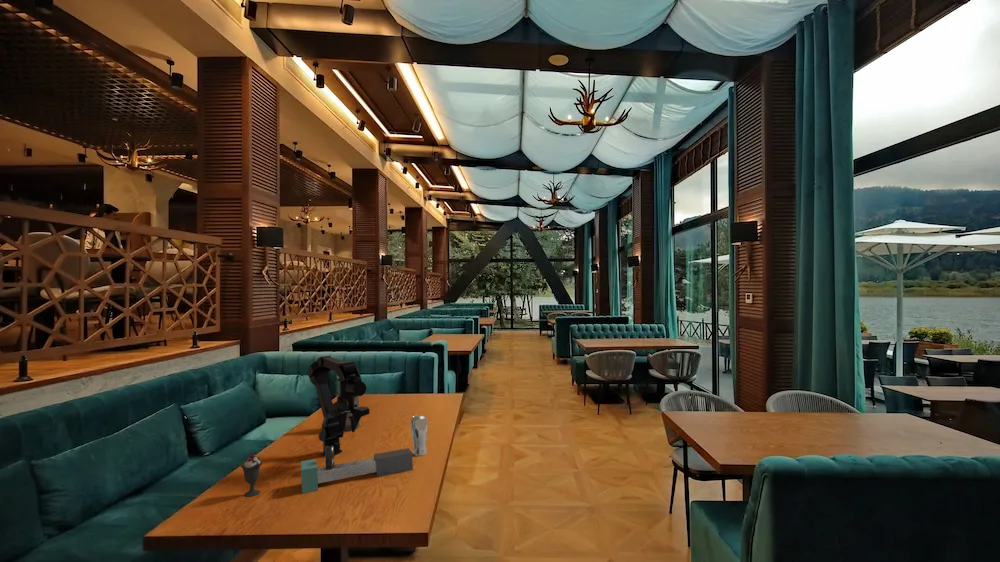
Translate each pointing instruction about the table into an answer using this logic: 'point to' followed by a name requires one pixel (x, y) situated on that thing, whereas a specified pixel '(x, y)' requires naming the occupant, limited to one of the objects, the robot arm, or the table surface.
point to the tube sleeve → (393, 462)
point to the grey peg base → (343, 467)
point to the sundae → (251, 473)
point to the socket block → (309, 476)
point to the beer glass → (419, 435)
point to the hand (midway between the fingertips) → (348, 431)
